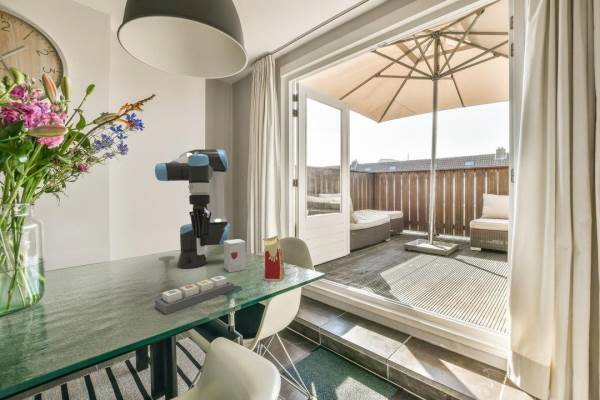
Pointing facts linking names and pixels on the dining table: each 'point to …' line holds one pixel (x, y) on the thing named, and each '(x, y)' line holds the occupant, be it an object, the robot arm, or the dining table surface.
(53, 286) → the dining table surface
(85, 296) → the dining table surface
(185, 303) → the keypad
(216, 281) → the key slate
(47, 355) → the dining table surface
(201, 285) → the key ochre
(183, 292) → the key rust
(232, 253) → the supplement box
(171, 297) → the key teal
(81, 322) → the dining table surface
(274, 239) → the milk carton
